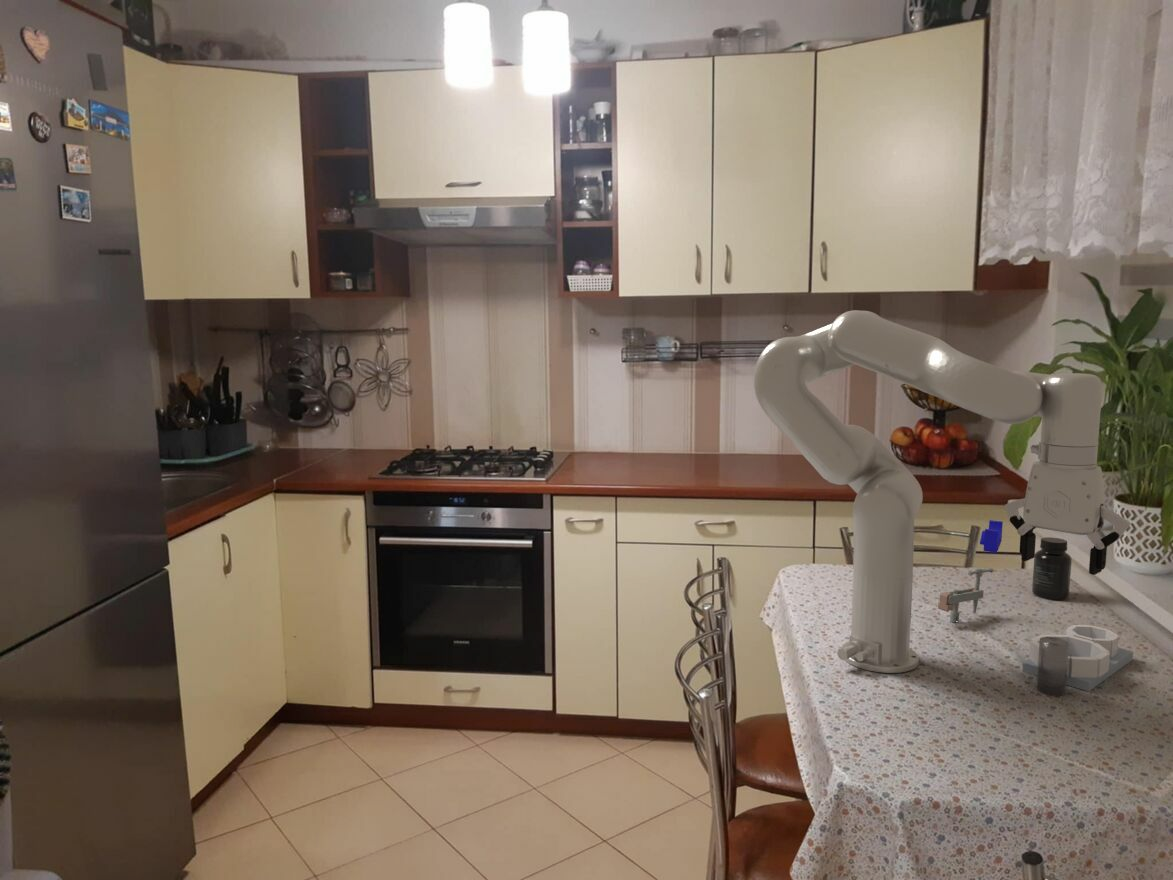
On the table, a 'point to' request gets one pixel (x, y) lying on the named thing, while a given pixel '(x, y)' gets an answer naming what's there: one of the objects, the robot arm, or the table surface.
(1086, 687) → the fitting plate
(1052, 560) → the supplement bottle
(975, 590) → the clamp
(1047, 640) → the grey cylinder
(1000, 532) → the blue block
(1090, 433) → the robot arm
